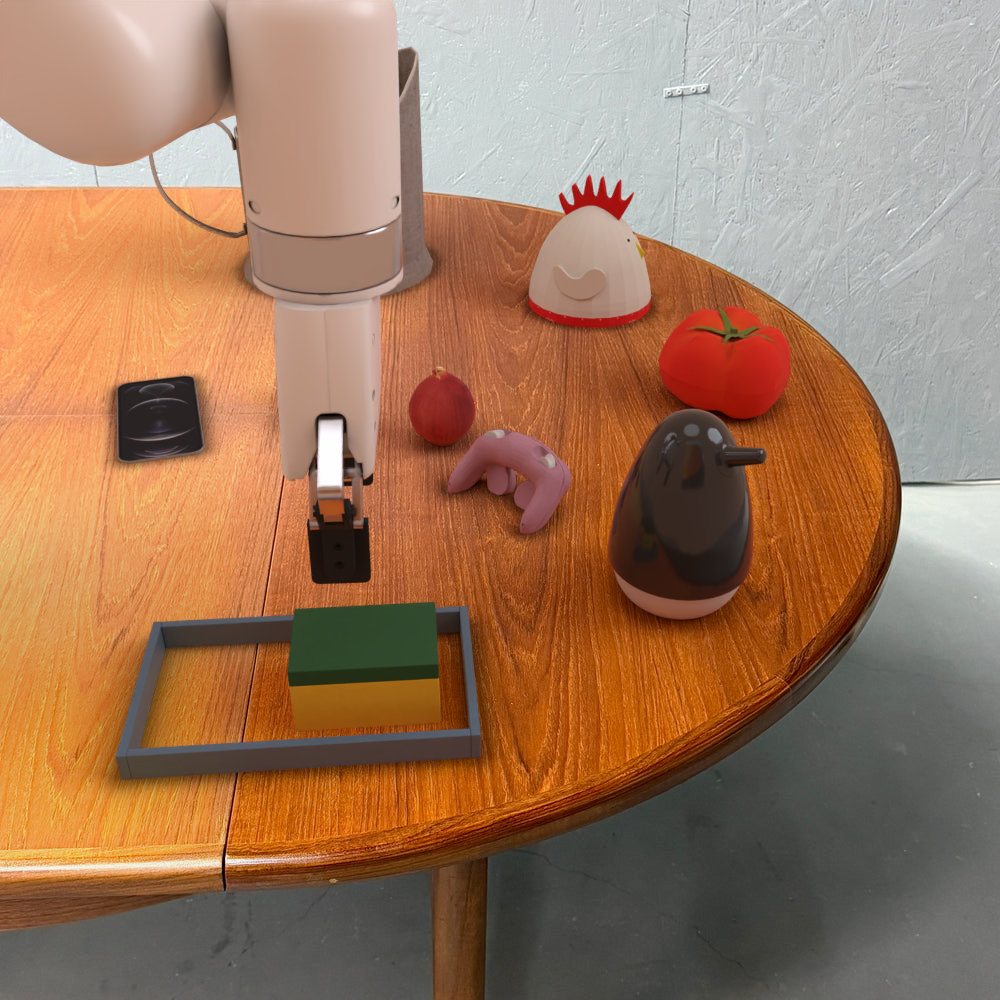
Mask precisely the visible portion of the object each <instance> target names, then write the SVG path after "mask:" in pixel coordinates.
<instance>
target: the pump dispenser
mask: <svg viewBox="0 0 1000 1000" xmlns="http://www.w3.org/2000/svg"><path fill="white" fill-rule="evenodd" d="M767 454H768V453H767V451H766V449H765V448H764V447H757V446H756V447H755V446H739V445H738V443H737V441H736V439H735V437H734V435H733V433H732V431H731V430H730V428H729V427H728V425H727V424H726V423H725V421H723V419H721V418H720V417H719V416H717V415H715V414H714V413H713V412H710V411H705V410H701V409H698V408H684V409H679V410H676V411H673V412H672V413H670V414H668V415H666V416H665V417H664V418H662V419H661V420H660V421H659V422H658V423H657V424H656V426H655V427H653V429H652V430H651V431H650V433H649V435H648V436H647V437H646V439H645V440H644V441H643V443H642V444H641V447H640V448H639V449H638V452H637V453H636V455H635V457H634V458H633V461H632V463H631V465H630V467H629V468H628V470H627V473H626V476H625V477H624V480H623V483H622V485H621V488H620V491H619V493H618V496H617V500H616V503H615V506H614V511H613V515H612V519H611V523H610V526H609V527H610V528H609V531H608V537H607V558H608V562H609V564H610V566H611V568H612V570H613V573H614V576H615V579H616V581H617V583H618V585H619V586H620V588H621V590H622V591H623V593H624V594H625V596H626V597H627V598H628V599H629V600H630V601H631V602H632V603H634V605H636V606H637V607H638V608H640V609H642V610H643V611H645V612H647V613H649V614H652V615H653V616H657V617H661V618H665V619H669V620H693V619H698V618H702V617H705V616H708V615H710V614H712V613H714V612H716V611H717V610H719V609H721V608H722V607H723V606H725V605H726V604H727V603H728V602H729V601H730V600H731V599H732V598H733V597H734V595H735V594H736V592H738V589H739V588H740V586H741V585H742V584H743V583H744V582H745V581H746V580H747V578H748V576H749V574H750V572H751V567H752V563H753V555H754V513H753V504H752V502H753V501H752V496H751V489H750V485H749V480H748V475H747V471H746V468H745V467H749V466H756V465H757V466H758V465H762V464H764V463H765V462H766V461H767V456H768V455H767Z"/></svg>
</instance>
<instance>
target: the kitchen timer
mask: <svg viewBox="0 0 1000 1000" xmlns="http://www.w3.org/2000/svg"><path fill="white" fill-rule="evenodd" d="M598 183H599V184H598V189H597V193H596V194H595V189H594V184H593V178H592V174H588V175H587V177H586V179H585V184H584V189H583V193H582V192H581V190H580V188H579V186H578V184H577V183H573V184H572V185H571V194H572V197H573V204H571V203H569V201H568V200H567V198H566V197H565V194H564V193H563V192H559V194H558V199H559V202H560V206H561V208H562V211H563V213H564V216H563V217H562V218H561V219H560V220H559V221H557V223H556V224H555V226H553V228H552V229H551V230H550V232H549V233H548V234H547V236H546V238H545V240H544V241H543V244H542V245H541V247H540V249H539V252H538V255H537V257H536V260H535V263H534V267H533V270H532V272H531V276H530V281H529V286H528V306H529V308H530V309H531V311H532V312H533V313H535V314H536V315H538V316H539V317H541V318H543V319H546V320H547V321H551V322H552V323H556V324H560V325H564V326H570V327H576V328H590V329H594V328H595V329H596V328H597V329H598V328H611V327H612V328H613V327H617V326H618V327H619V326H623V325H624V326H625V325H627V324H630V323H632V322H636V321H638V320H641V318H643V317H644V316H645V315H647V314H648V312H649V310H650V308H651V302H652V291H651V282H650V278H649V274H648V268H647V264H646V259H645V254H646V253H645V250H643V248H642V246H641V243H640V241H639V239H638V237H637V235H636V234H635V232H634V230H633V229H632V227H631V226H630V225H629V223H628V222H627V221H626V220H625V219H624V218H623V216H624V214H625V212H626V211H627V209H628V207H629V206H630V204H631V202H632V200H633V198H634V194H635V192H634V191H633V192H632V193H630V195H629V196H627V198H626V199H623V198H622V188H623V187H622V186H623V185H622V179H621V178H620V179H619V180H618V181H617V183H616V185H615V187H614V189H613V191H612V194H611V197H609V196H608V191H607V183H606V179H605V176H604V175H602V176H601V178H600V179H599V182H598Z"/></svg>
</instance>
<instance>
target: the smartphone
mask: <svg viewBox="0 0 1000 1000" xmlns="http://www.w3.org/2000/svg"><path fill="white" fill-rule="evenodd" d="M116 437H117V438H116V439H117V440H116V441H117V442H116V443H117V446H116V447H117V459H118V461H119V462H120V463H121V464H125V465H132V464H133V465H134V464H140V463H147V462H153V461H154V462H156V461H161V460H162V461H163V460H169V459H175V458H183V457H190V456H195V455H199V454H200V453H202V452H203V451H204V450H205V448H206V446H205V438H204V432H203V424H202V417H201V411H200V398H199V395H198V390H197V384H196V379H195V377H193V376H191V375H178V376H171V377H170V376H169V377H161V378H153V379H145V380H137V381H130V382H129V381H128V382H125V383H122V384H120V385H118V386H117V387H116Z"/></svg>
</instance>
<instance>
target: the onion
mask: <svg viewBox="0 0 1000 1000" xmlns="http://www.w3.org/2000/svg"><path fill="white" fill-rule="evenodd" d="M476 410H477V409H476V402H475V400H474V397H473V395H472V392H471V390H470V388H469V387H468V386H467V384H466V383H465V382H464V381H463V380H462V379H460V378H459V377H457V376H456V375H454V374H452V373H450V372H449V371H448V370H447V369H446V368H444V367H443V366H436V367H435V368H433V369H431V375H429V376H427V377H425V378H424V379H423V380H422V381H421V382H419V383H418V385H417V386H416V387H415V389H414V391H413V393H412V395H411V397H410V400H409V403H408V417H409V420H410V423H411V426H412V427H413V430H415V432H416V433H417V434H418V435H420V437H422V438H423V439H424V440H426V441H428V442H429V443H432V444H433V445H436V446H438V447H449V446H452V445H453V444H455V443H456V442H458V441H460V440H462V439H463V438H464V437H465V436H466V435H467V434H468V433H469V431H470V429H471V427H472V426H473V423H474V421H475V417H476Z"/></svg>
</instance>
